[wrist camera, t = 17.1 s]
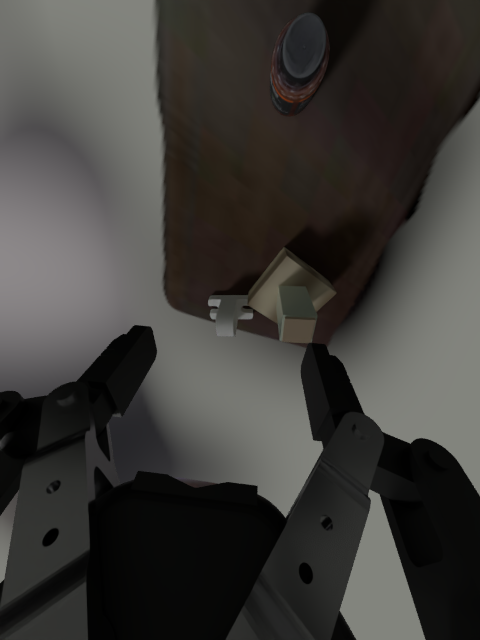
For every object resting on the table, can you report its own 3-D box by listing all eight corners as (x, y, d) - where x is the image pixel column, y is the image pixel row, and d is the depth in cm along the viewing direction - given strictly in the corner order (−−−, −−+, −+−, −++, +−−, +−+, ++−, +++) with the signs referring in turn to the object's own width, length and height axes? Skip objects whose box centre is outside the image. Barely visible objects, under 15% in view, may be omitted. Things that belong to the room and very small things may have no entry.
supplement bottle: (323, 69, 28) (353, 16, 18) (298, 125, 31) (314, 105, 22) (282, 43, 27) (293, -25, 18) (261, 104, 30) (261, 74, 21)
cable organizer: (209, 295, 48) (198, 320, 40) (252, 294, 48) (250, 320, 39) (212, 314, 51) (202, 341, 43) (253, 314, 50) (251, 342, 42)
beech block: (248, 291, 47) (247, 304, 42) (283, 246, 41) (287, 256, 36) (289, 317, 50) (292, 333, 46) (328, 279, 44) (336, 293, 39)
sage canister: (276, 308, 42) (280, 343, 34) (278, 285, 40) (283, 317, 31) (301, 309, 42) (312, 344, 33) (305, 286, 39) (318, 318, 30)
